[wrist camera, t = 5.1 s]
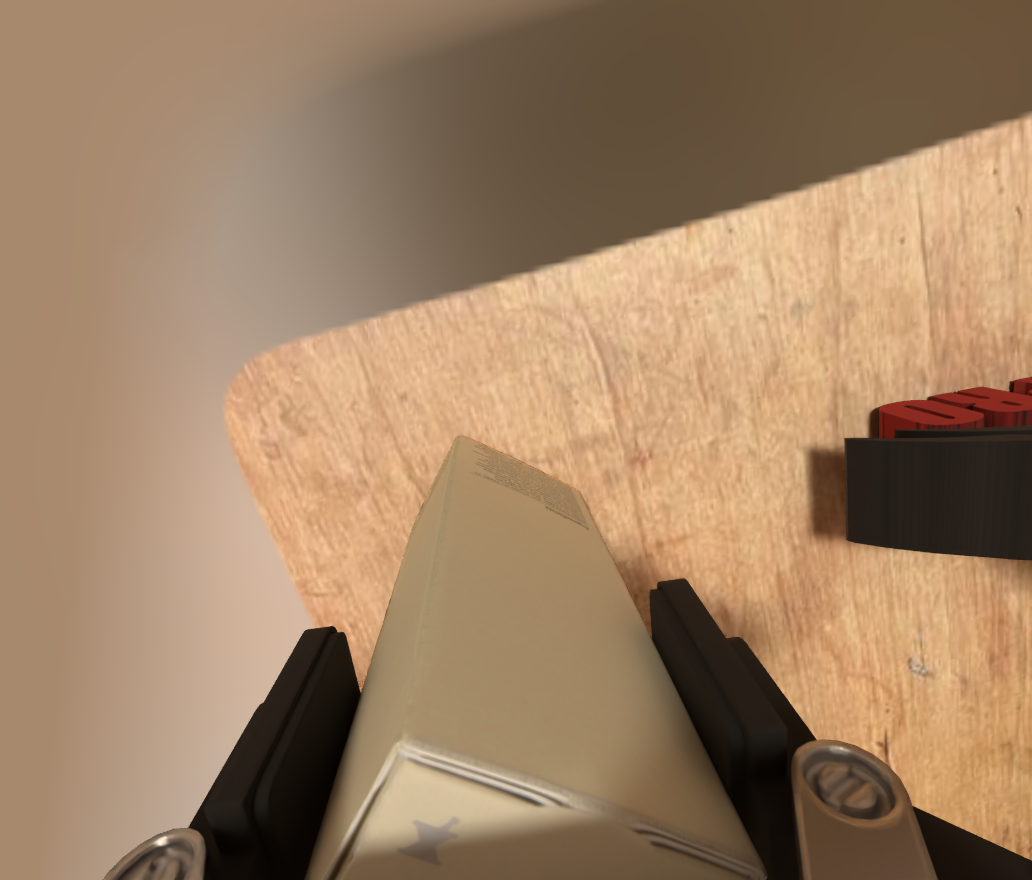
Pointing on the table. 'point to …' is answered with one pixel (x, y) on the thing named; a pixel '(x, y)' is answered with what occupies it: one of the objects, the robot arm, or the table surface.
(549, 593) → the box
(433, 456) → the table surface
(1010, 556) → the extruded letter emblem
